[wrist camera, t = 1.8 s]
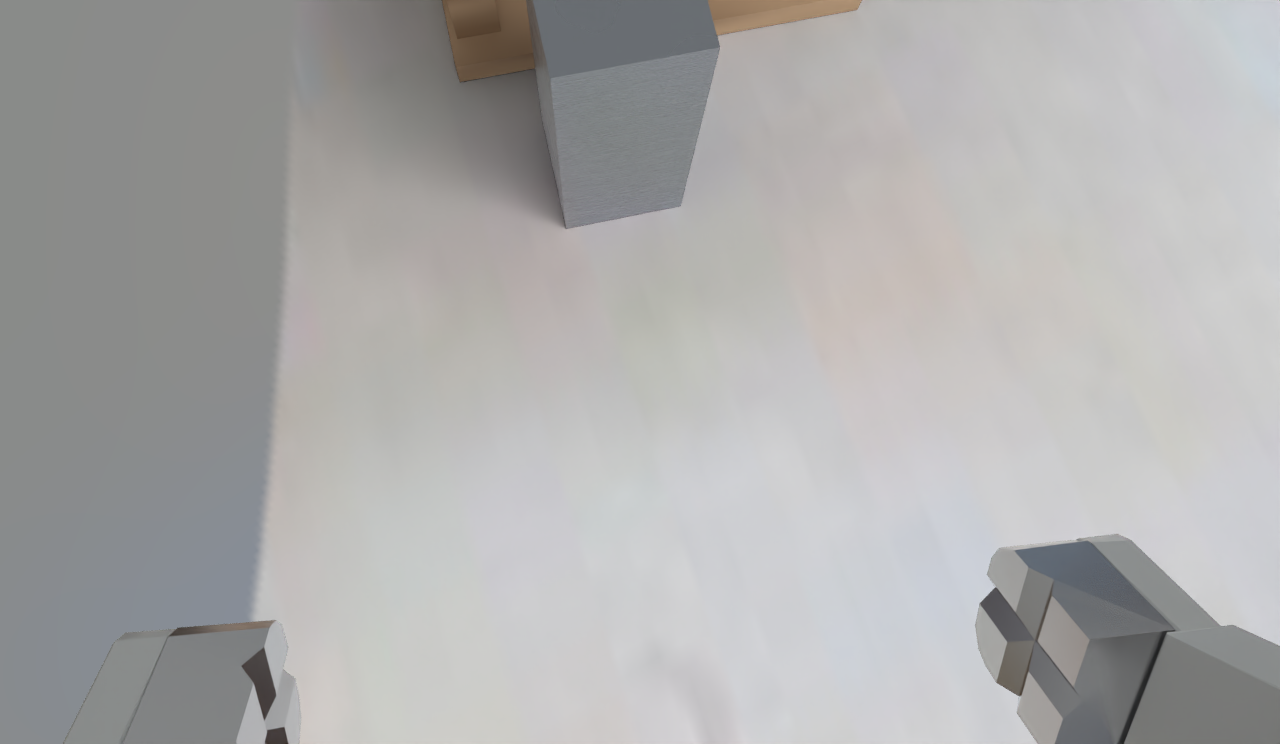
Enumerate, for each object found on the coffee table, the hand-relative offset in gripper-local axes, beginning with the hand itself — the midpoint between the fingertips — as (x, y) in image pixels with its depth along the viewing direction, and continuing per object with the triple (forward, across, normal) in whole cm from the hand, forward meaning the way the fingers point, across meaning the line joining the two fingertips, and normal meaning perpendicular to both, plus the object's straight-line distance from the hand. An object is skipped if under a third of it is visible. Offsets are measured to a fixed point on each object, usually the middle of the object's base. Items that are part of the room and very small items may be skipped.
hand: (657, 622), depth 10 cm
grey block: (+23, -2, 0) cm, 23 cm away
